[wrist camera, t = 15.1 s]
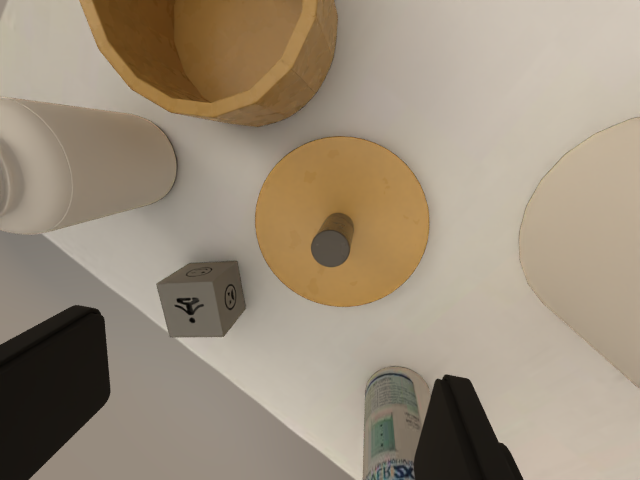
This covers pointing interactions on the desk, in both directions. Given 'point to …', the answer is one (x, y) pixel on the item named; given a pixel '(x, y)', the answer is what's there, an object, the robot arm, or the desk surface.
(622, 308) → the cylinder
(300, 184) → the tan wooden disc
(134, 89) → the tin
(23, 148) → the pill bottle
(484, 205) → the desk surface
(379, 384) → the spray can
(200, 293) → the dice cube
